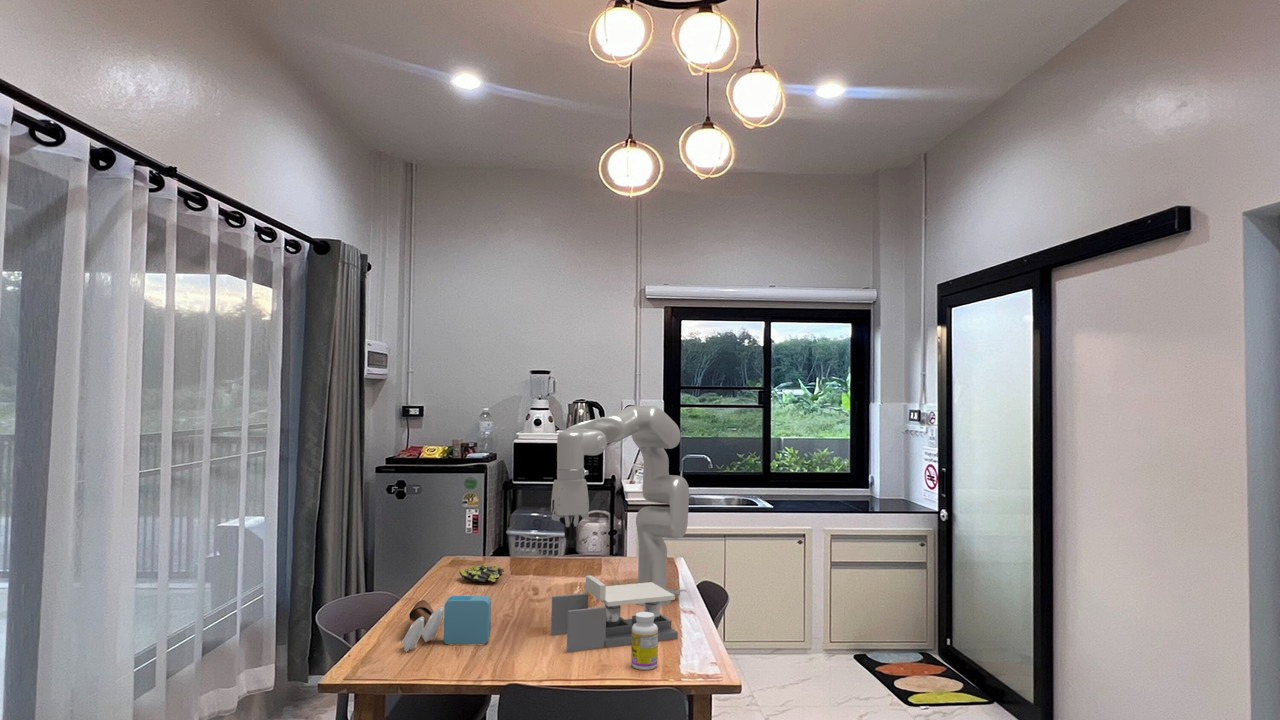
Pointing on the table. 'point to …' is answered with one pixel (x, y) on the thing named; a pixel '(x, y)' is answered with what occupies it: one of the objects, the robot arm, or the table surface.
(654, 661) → the supplement bottle
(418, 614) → the sunglasses case
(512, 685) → the table surface
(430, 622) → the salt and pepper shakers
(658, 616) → the silver metal shaker
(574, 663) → the table surface
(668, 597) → the lid
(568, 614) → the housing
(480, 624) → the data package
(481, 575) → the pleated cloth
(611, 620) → the glass spice jar
